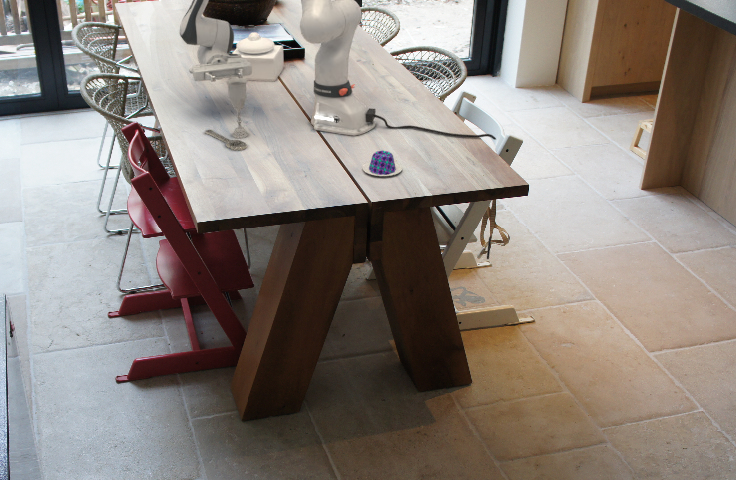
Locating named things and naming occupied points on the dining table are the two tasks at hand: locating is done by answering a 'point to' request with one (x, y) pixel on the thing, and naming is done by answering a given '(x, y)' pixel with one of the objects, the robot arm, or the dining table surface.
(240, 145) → the spoon
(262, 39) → the white square lidded jar
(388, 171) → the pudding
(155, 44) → the dining table surface
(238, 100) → the chalice
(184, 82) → the dining table surface
